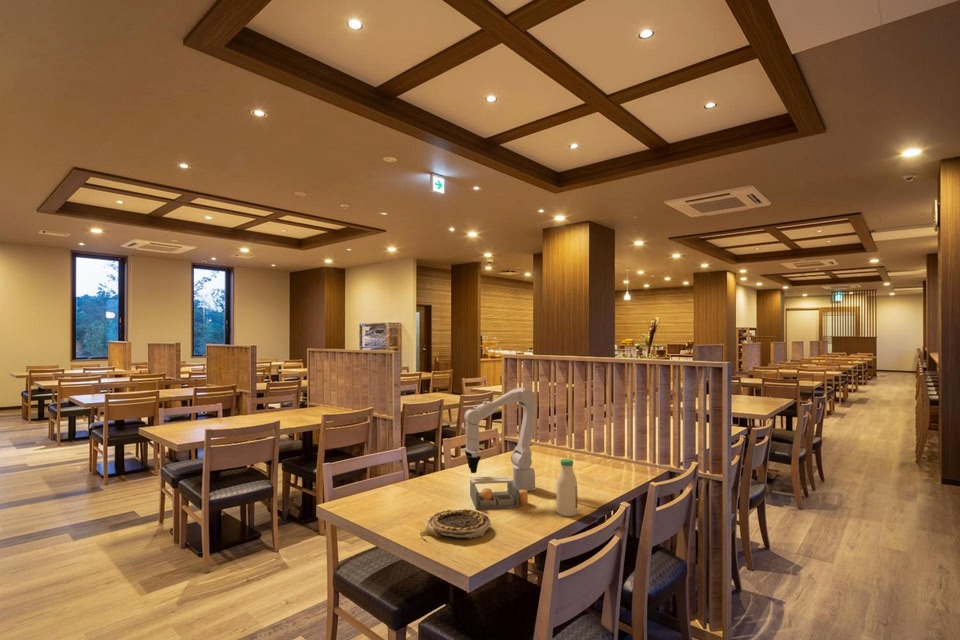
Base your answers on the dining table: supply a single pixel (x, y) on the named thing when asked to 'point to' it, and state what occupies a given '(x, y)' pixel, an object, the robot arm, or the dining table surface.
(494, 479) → the lid
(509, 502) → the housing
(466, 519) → the pie
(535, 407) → the robot arm
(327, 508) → the dining table surface
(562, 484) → the milk bottle
